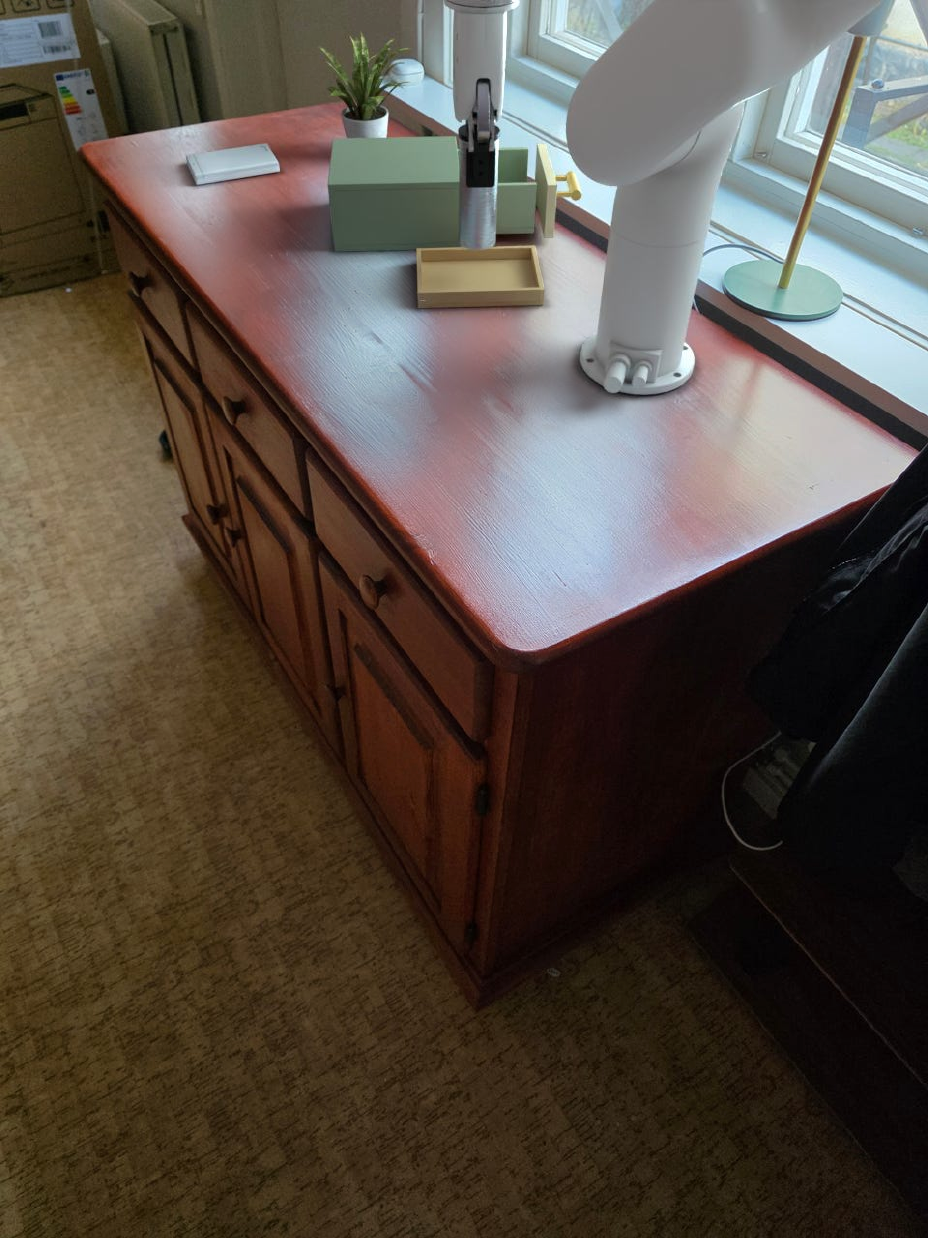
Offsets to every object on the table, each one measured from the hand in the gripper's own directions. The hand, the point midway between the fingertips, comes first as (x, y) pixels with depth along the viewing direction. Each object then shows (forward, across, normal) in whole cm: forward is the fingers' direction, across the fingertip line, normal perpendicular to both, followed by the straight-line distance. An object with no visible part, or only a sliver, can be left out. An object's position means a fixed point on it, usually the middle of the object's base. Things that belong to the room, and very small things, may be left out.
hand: (478, 174), depth 101 cm
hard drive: (+14, -36, -35) cm, 52 cm away
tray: (+13, 0, 0) cm, 13 cm away
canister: (+8, 0, 0) cm, 8 cm away
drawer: (+12, -16, +5) cm, 21 cm away
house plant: (+14, -39, -13) cm, 43 cm away
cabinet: (+13, -16, -10) cm, 23 cm away
